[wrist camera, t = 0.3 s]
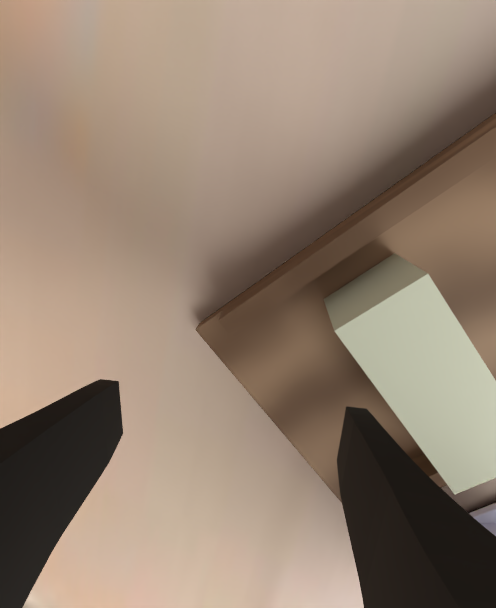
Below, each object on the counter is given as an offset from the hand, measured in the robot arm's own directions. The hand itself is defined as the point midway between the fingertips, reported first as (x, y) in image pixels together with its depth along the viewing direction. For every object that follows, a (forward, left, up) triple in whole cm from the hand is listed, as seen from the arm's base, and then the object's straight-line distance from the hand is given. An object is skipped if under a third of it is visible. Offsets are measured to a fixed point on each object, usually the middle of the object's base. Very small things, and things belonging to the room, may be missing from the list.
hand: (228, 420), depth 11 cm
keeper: (-6, -6, -8) cm, 12 cm away
